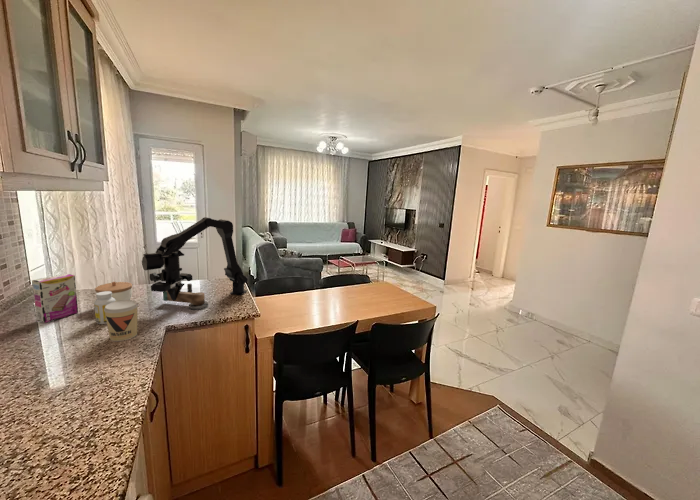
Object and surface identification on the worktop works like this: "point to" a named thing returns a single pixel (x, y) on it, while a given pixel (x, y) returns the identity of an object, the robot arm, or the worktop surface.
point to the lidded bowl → (117, 290)
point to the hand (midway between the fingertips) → (174, 300)
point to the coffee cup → (121, 319)
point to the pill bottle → (102, 305)
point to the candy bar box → (55, 297)
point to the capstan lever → (187, 297)
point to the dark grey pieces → (194, 307)
